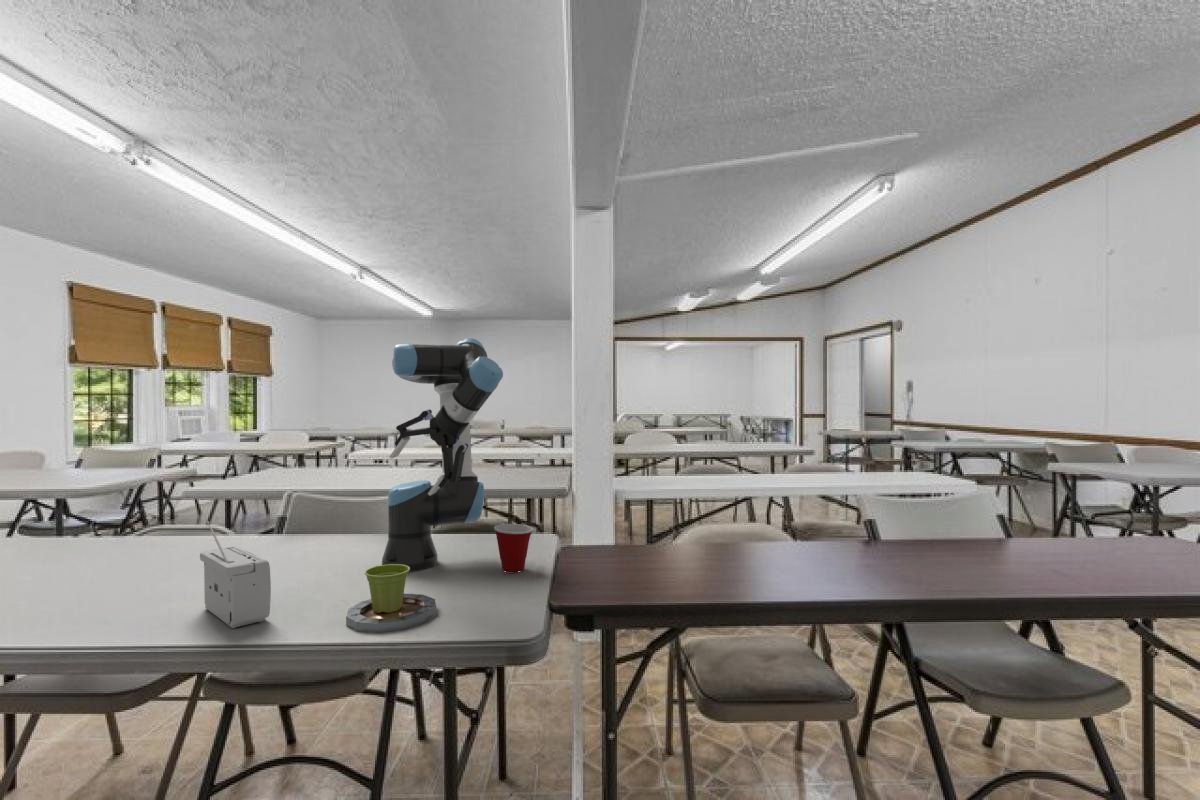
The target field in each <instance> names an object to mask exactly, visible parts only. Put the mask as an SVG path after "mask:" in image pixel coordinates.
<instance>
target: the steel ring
mask: <svg viewBox="0 0 1200 800" xmlns="http://www.w3.org/2000/svg"><path fill="white" fill-rule="evenodd" d="M436 615H437V604H436V599H435V598H433V597H431V596H428V595H425V594H422V593H421V594H418V593H417V594H416V593H404V596H403V603H402V607H401V608H400V609H399V610H397V611H394V612H390V613H386V612H381V613H377V612H374V611H373V608H372V601H371V598H369V599H366V600H363V601H360V602H358V603H357V604H355V605H353V606H351V607H350V608H348V610H347V612H346V617H345V619H346V621H345V622H346V624H345V625H346V626H347V627H349V628H351V629H352V630H354V631H356V632H365V633H378V634H380V633H388V632H396V631H403V630H407V629H410V628H413V627H417V626H419V625H421V624H425V623H427V622H428V621H429V620H431V619H432V618H434V617H436Z"/></svg>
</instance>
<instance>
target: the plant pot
mask: <svg viewBox="0 0 1200 800" xmlns="http://www.w3.org/2000/svg"><path fill="white" fill-rule="evenodd" d="M409 570H410V567H409V566H406V565H401V564H388V565H382V564H380V565H376V566H371V567H369V568H367V569H366V570H365V571H364V575H365V576H366V579H367V582H368V585H369V586H368V587H369V592H370V599H371V601H372V608H373V611H374V612H377V613H381V612H386V613H390V612H394V611H397V610H399V609H400V608H401V607H402V603H403V596H404V594H405V588H406V581H407V578H408V574H409V573H410V571H409ZM408 572H409V573H408Z"/></svg>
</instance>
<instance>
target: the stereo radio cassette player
mask: <svg viewBox="0 0 1200 800" xmlns="http://www.w3.org/2000/svg"><path fill="white" fill-rule="evenodd" d="M206 524H207V525H208V526H209V527H208V528H209V529H210V532H211V533H212V536H213V538H214V541H215V543H216V545H217V547H218V548H216V549H210V550H205V551H202V552H200V553H199V560H200V561H202V562H203V565H204V566H203V569H204V573H203V574H204V575H203V579H204V585H203V586H204V591H203V592H204V605H205V609H207V610H208V611H209V612H210V613H211V614H213V615H215V616H216V617H217V618H218V619H220V620H221V621H222V622H223V623H225V624H226V625H227V626H229V627H230V628H231V629H236V628H238V627H241V626H243V627H244V626H247V625H250V624H255V623H262V622H264V621H265V619H266V618H268V617H270V613H271V598H272V597H271V596H272V595H271V593H272V591H271V590H272V587H271V584H272V583H271V582H272V581H271V567H270V566H271V565H270V561H268V560H267V559H265V558H263V557H261V556H259V555H256V554H254V553H252V552H250V551H247V550H245V549H243V548H241V547H238V546H235V545H233V546H228V547H223V548H222V546H221V543H220V541H219V539H218V537H217V535H216V534H215V532H214V530H213V528H212V526H211V525H210V521H208V520H207V521H206Z"/></svg>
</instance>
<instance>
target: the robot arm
mask: <svg viewBox="0 0 1200 800" xmlns="http://www.w3.org/2000/svg"><path fill="white" fill-rule="evenodd" d="M391 365H392V369H393V372H394V374H395V375H396V376H398V377H399V378H400V379H401V380H402V379H403V380H405V381H408V382H412V383H416V384H424V385H425V384H433V389H434V392H436V393H437V394H439V408H440V410H438V412H437V413H436V415H435V416H434V415H433V414H432V413H433V410H432V409H430V408H429V409H426V410H423V411H422V412H421V413H420V414H419V415H418V416H416V417H414V418H412V419H410V420H407V421H405V422H402V423H401V424H398V425H397V426H396V427H395V429H396V430H397V431H399V436H398V437H397V439H396V440H395V441H394V445H395V446H396V447H394V449H393V450H392V452H391V453H390V455H389V456H388V457H389V458H390V459H394V458H397V457H399V455H400V454H401V453H402V451H403V449H404V448H405V447H406V445H407V444H408V442H409V441H410V440H411V437H415V436H422V435H424V436H425V435H429V436H430V440H432V441H434V442H435V443H436V445H437V446H438V447H441V463H442V464H441V465H442V466H441V468H442V469H441V470H442V473H441V474H440V475H439V476H438V478H437V480H436V482H435V483H434V484H433V485H432V482H431V481H430V480H427V479H426V480H417V481H410V482H409V481H408V482H405V483H400V484H398V485H395V486H392V487H391V488H390V489H389V490H388V495H387V503H386V504H387V505H386V506H387V507H388V508H387V509H388V510H387V511H388V512H387V513H388V521H387V523H388V524H387V525H388V526H387V531H388V532H387V533H388V535H387V542H386V546H385V549H384V552H383V555H382V559H381V565H388V564H401V565H406V566H409V567H410V570H409V572H415V571H421V570H425V569H426V570H427V569H429V568H432V567H434V566H436V565H437V564H438V563H439V561H438V559H439V557H438V555H439V554H438V553H437V550H436V546H435V544H434V541H433V538H432V527H435V526H438V527H439V526H448V525H449V526H450V525H461V524H462V525H466V524H470V523H475V522H478V521H479V520H480V518H481V516H482V514H483V513H482V512H483V507H484V501H485V487H484V483H483V482H481V481H478V475H477V474H476V473H475V472H473V464H472V462H473V461H472V460H473V459H472V444H471V443H472V442H471V441H472V440H471V424H470V423H471V421H473V419H474V418H475V416H476V415H477V414H478V412H479V411H480V410H481V408H482V407H483V406H484V405H485V403H486V402H487V400H488V399H489V398H490V396H492V394H493V392H494V391H495V390H496V389H497V388H498V386H499V384H500V382H501V381H502V380H503V377H504V371H503V369H502V368H501V367H500V365H499V364H498V363H497V362H496V361H495V360H492V359H491V358H490V357H488V354H487V351H486V350H485V346H484V345H483V344H482V343H481V342H480V340H478V339H476V338H471V337H469V338H468V337H466V338H464V339H462V340H459V341H457V343H456V344H454V345H452V344H413V343H405V344H403V343H402V344H401V343H400V344H399V343H398V344H396V345H395V346H393V358H392V364H391ZM422 421H429V427H423V428H413V429H408V428H409V427H411V426H414V425H416V424H417V423H418V424H419V423H420V422H422Z"/></svg>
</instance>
